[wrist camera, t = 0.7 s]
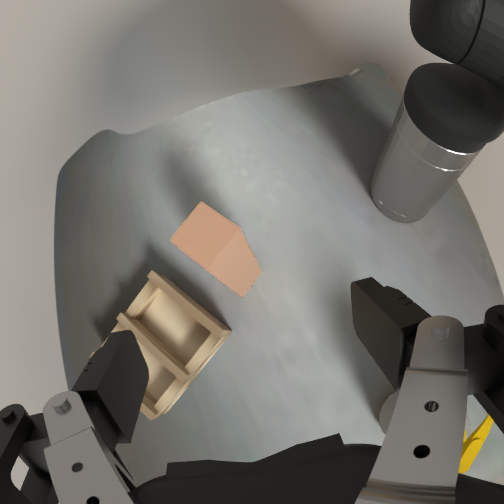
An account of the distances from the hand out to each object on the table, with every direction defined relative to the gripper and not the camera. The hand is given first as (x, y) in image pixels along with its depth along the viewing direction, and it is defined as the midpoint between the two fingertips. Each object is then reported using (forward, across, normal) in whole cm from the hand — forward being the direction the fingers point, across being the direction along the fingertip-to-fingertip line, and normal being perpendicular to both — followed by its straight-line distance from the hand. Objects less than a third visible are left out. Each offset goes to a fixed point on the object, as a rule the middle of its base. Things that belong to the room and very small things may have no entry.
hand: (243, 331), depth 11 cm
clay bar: (+27, +1, +8) cm, 28 cm away
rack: (+24, +12, +14) cm, 31 cm away
